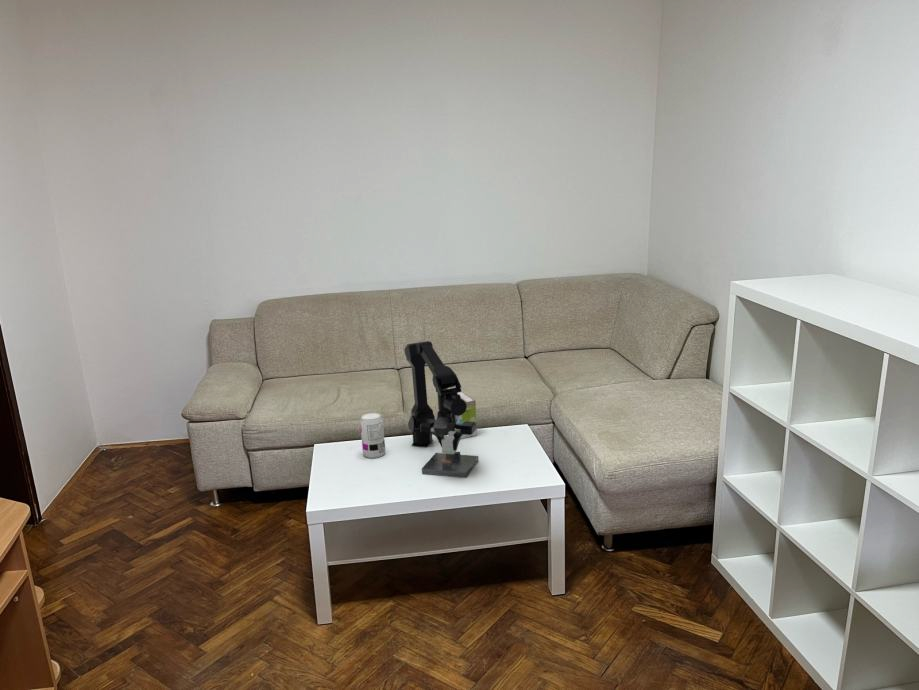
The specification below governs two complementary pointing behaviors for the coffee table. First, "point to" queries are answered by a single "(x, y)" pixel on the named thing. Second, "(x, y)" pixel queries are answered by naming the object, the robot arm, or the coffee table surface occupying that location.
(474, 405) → the tea box
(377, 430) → the supplement can
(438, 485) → the coffee table surface
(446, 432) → the robot arm
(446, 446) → the grey metal cube
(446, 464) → the stand
